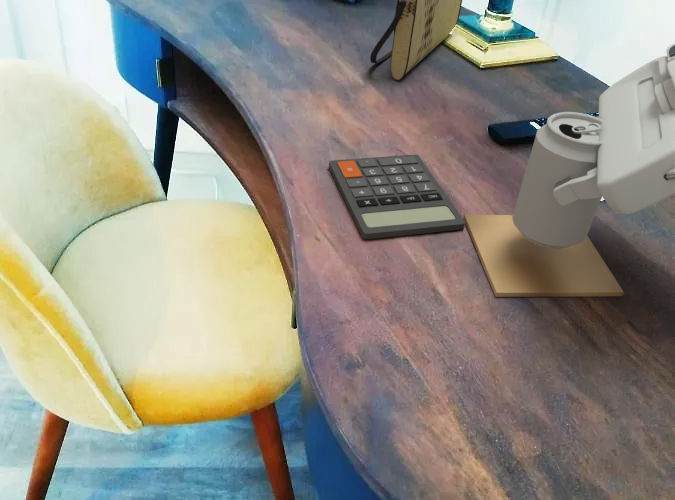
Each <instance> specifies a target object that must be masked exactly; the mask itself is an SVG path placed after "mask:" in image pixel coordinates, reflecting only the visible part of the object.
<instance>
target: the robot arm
mask: <svg viewBox="0 0 675 500" xmlns="http://www.w3.org/2000/svg"><path fill="white" fill-rule="evenodd" d="M665 53H666V55H664V56H663V55H662V56H660V57H656V58H654V59H653V60H650V61H648V62H647V63H646V64H644V65H642V66H640V67H639V68H637V69H635V70H634V71H632V72H630V73H628V74H627V75H625V76H623V77H622V78H621V79H619V80H618V81H616V82H614V83H613V84H612V85H610V86H609V87H608V88H607V89H606V90H605V91H603V92H602V93H601V94H600V96H599V97H598V115H597V116H596V117H597V118H600V119H602V120H603V121H604V122H603V123H602V124H600V126H601V130H600V131H599V141H604V142H603V144H602V145H600V146H599V147H598V158H597V168H594V169H592V170H590V171H588V172H587V175H586V176H583V177H579V178H575V179H571V177H568V178H566V179H563V180H562V181H559V182H557V183H555V185H554V191H553V196H554V197H555V199H556V200H557V202H558V203H559V204H560V205H563V206H564V205H567V204H570V203H572V202H574V201H576V200H578V199H594V198H600V197H602V198H603V200H604V201H605V203H606V204H607V206H608V207H609V209H610V210H611V211H612V212H613V214H615V215H616V216H630V215H633V214H636V213H639V212H640V211H643V210H644V209H648V208H649V207H651V206H653V205H656V204H658V203H659V202H662V201H663V200H665V199H667V198H669V197H671V196H673V195H675V42H673V43H672V44H671V45H669V46H668V47H667V48H666V51H665ZM599 141H598V142H599Z"/></svg>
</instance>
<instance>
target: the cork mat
mask: <svg viewBox="0 0 675 500" xmlns="http://www.w3.org/2000/svg"><path fill="white" fill-rule="evenodd" d="M512 217H513V214H464V215H463V217H462V218H463V219H464V221H465V227H466V229H467V232H468V233H469V236H470V238H471V241H472V243H473V246H474V248H475V251H476V253H477V256H478V258H479V261H480V263H481V265H482V268H483V271H484V273H485V275H486V278H487V280H488V282H489V285H490V287H491V290H492V292H493V294H494V297H495V298H513V297H514V298H533V297H534V298H538V297H539V298H546V297H548V298H550V297H552V298H553V297H555V298H556V297H557V298H558V297H563V298H566V297H571V298H573V297H622V296H623V295H624V292H625V291H623V289H622V287H621V286H620V284H619V282H618V281H617V279H616V277H615V276H614V275H613V273H612V272H611V270H610V268H609V267H608V266H607V264H606V262H605V261H604V259H603V258H602V256H601V255H600V253H599V251H598V249H596V246H595V245H594V243H593V242H592V240H591V239H590V238H589V236H588V235H587V237H586V238H585V239H584V240H583V242H581V243H579V244H577V245H574V246H570V247H567V248H561V249H553V248H546V247H543V246H539V245H537V244H535V243H533V242H530V241H529V240H528V239H526V238H525V237H524V236H523V235H522V234H521V233H520V231H519V230H518V229H517V227H516V226H515V225H514V222H513V219H512Z"/></svg>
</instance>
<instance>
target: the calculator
mask: <svg viewBox="0 0 675 500" xmlns="http://www.w3.org/2000/svg"><path fill="white" fill-rule="evenodd" d="M328 169H329V171H330V173H331V175H332V177H333V179H334V181H335V183H336V186H337V188H338V190H339V191H340V194H341V197H342V198H343V200H344V202H345V204H346V207H347V208H348V210H349V213H350V215H351V217H352V219H353V221H354V222H355V225H356V227H357V229H358V231H359V233H360V235H361V238H363V239H364V240H374V239H382V238H383V239H384V238H393V237H402V236H403V237H404V236H411V235H412V236H413V235H421V234H429V233H431V234H432V233H440V232H451V231H459V230H464V229H465V226H466V224H465V221H464V219H463V218H464V217H463V216H462V215H461V213H460V212H459V211H458V209H457V208H456V206H455V205H454V204H453V202H452V201H451V199H450V198H449V197H448V195H447V194H446V192H445V191H444V190H443V188H442V186H441V185H440V184H439V183H438V181H437V180H436V178H435V176H434V175H433V174H432V172H431V171H430V169H429V168H428V166H427V165H426V164H425V162H424V161H423V159H422V158H421V156H420V155H418V154H404V155H402V154H401V155H389V156H375V157H361V158H349V159H348V158H347V159H346V158H345V159H334V160H333V159H332V160H329V162H328Z"/></svg>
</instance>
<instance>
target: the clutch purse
mask: <svg viewBox="0 0 675 500" xmlns="http://www.w3.org/2000/svg"><path fill="white" fill-rule="evenodd" d="M462 4H463V0H397V1H396V7H395V14H394V17H393V19H392V21H391V23H390V25H389V26H388V27H387V29H386V30H385V32H384V34H383V35H382V36H381V38H380V39H379V41H378V42H377V43H376V44H375V46H374V48H373V49H372V52H371V53H370V58H369V61H370V63H371V64H379V63H382V62H383V61H385V60H387V59H388V58H389V57H390V73H391V77H392V78H393V80H395V81H402V80H403V79H404V77H405V75H407V73H409V72H410V71H411V70H412V69H413V68H414V67H415V66H417V64H418V63H419V62H421V61H422V60H423V59H424V58H425V57H426V56H428V54H429V53H431V52H432V51H433V50H434V49H436V48H437V47H438V45H439V44H441V43H442V42H443V41H444V40H445V39H446V38H447V37H448V36H449V35H450V34H449V33H450V32H451V31H452V29H453V28H454V27H455V25H456V23H457V21H458V22H459V20H458V19H460V15H461V10H462ZM392 33H393V41H392V48H391V50H390V51H389V52H388V53H386V54H384V56H382V57H380V58H379V59H377V57H378V54H379V52H380V51H381V49H382V47H383V46H384V44H385V43H386V42H387V40H388V39H389V38H390V36H391V35H392ZM448 34H449V35H448ZM447 35H448V36H447Z"/></svg>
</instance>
